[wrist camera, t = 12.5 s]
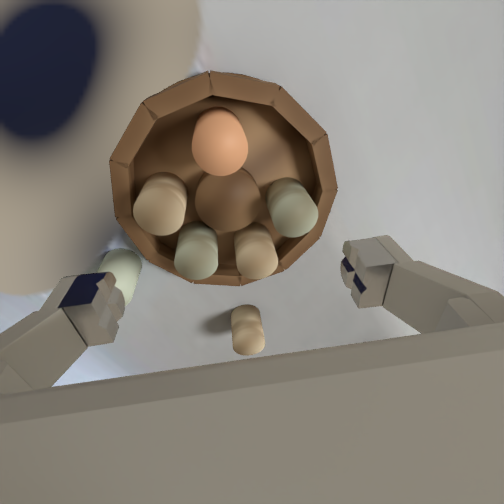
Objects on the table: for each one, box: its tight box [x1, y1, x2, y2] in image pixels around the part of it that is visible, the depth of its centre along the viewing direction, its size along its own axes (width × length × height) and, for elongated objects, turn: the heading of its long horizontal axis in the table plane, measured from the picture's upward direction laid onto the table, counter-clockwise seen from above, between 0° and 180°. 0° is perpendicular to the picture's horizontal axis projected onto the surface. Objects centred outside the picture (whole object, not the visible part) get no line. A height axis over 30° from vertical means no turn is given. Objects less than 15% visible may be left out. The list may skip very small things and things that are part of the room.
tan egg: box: [231, 305, 265, 355], centre depth 37 cm, size 4×4×5 cm
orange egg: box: [192, 106, 248, 176], centre depth 22 cm, size 4×4×5 cm
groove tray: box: [109, 70, 338, 286], centre depth 26 cm, size 20×20×6 cm
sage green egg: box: [97, 248, 142, 306], centre depth 30 cm, size 4×4×5 cm
